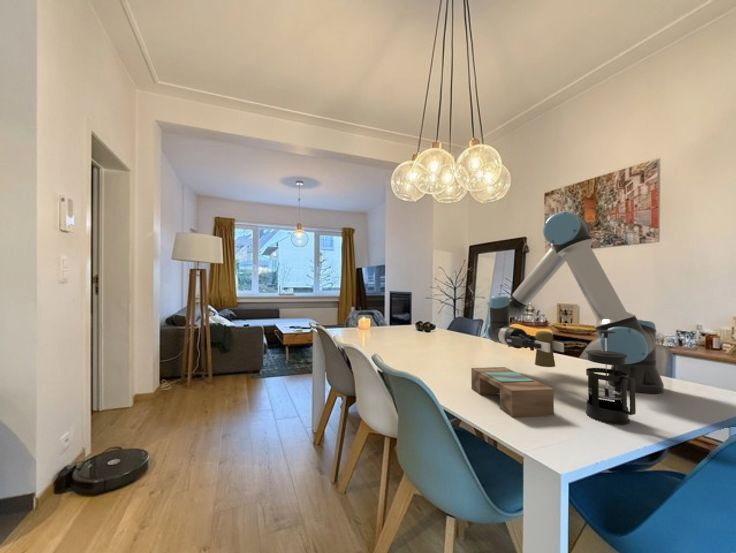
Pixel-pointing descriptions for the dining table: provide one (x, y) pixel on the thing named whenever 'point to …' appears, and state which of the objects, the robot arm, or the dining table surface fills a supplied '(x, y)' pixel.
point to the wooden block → (514, 391)
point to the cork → (541, 356)
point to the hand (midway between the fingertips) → (555, 347)
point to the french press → (605, 408)
